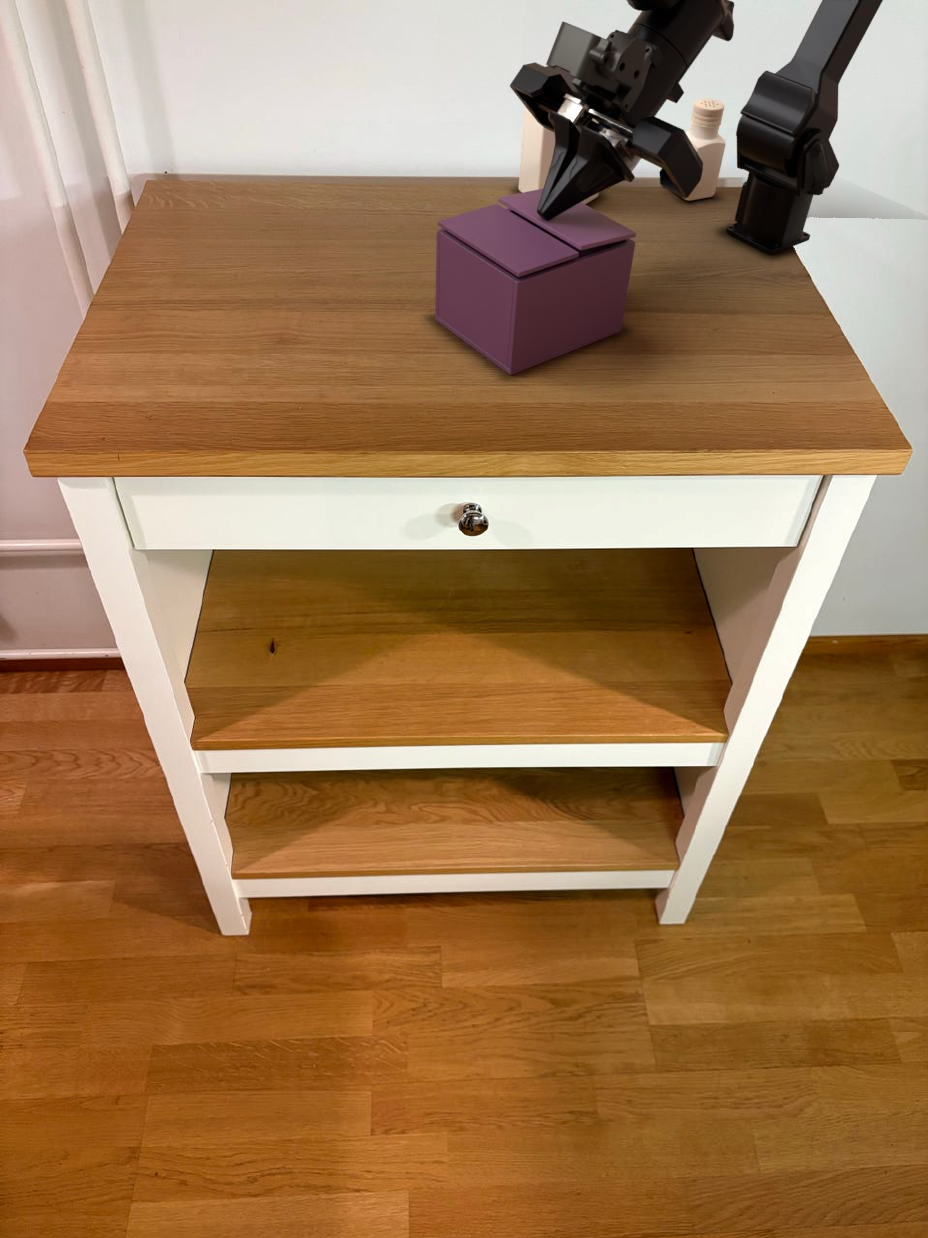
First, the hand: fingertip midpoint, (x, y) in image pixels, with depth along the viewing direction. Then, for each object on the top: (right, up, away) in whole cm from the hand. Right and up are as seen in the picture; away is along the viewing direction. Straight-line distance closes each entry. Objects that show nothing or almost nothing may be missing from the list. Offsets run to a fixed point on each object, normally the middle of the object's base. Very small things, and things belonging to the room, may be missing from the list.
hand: (541, 216), depth 83 cm
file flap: (+2, +1, +2) cm, 3 cm away
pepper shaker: (+19, +14, +28) cm, 37 cm away
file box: (-1, -7, +7) cm, 10 cm away
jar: (+4, +13, +27) cm, 30 cm away
